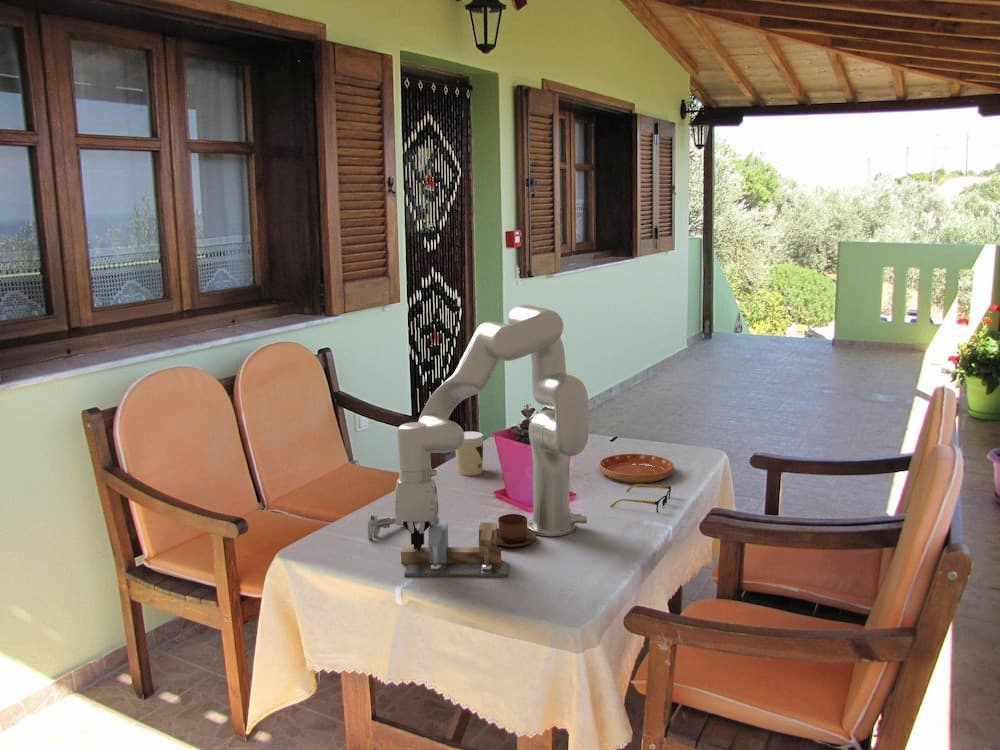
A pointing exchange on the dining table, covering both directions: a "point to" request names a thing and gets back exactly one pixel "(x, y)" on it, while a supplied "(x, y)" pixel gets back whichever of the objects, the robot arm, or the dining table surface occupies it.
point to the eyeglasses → (649, 501)
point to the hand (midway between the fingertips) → (417, 547)
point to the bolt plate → (456, 570)
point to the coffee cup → (470, 454)
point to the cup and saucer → (514, 531)
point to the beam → (462, 550)
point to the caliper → (378, 525)
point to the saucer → (636, 468)
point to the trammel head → (438, 542)
